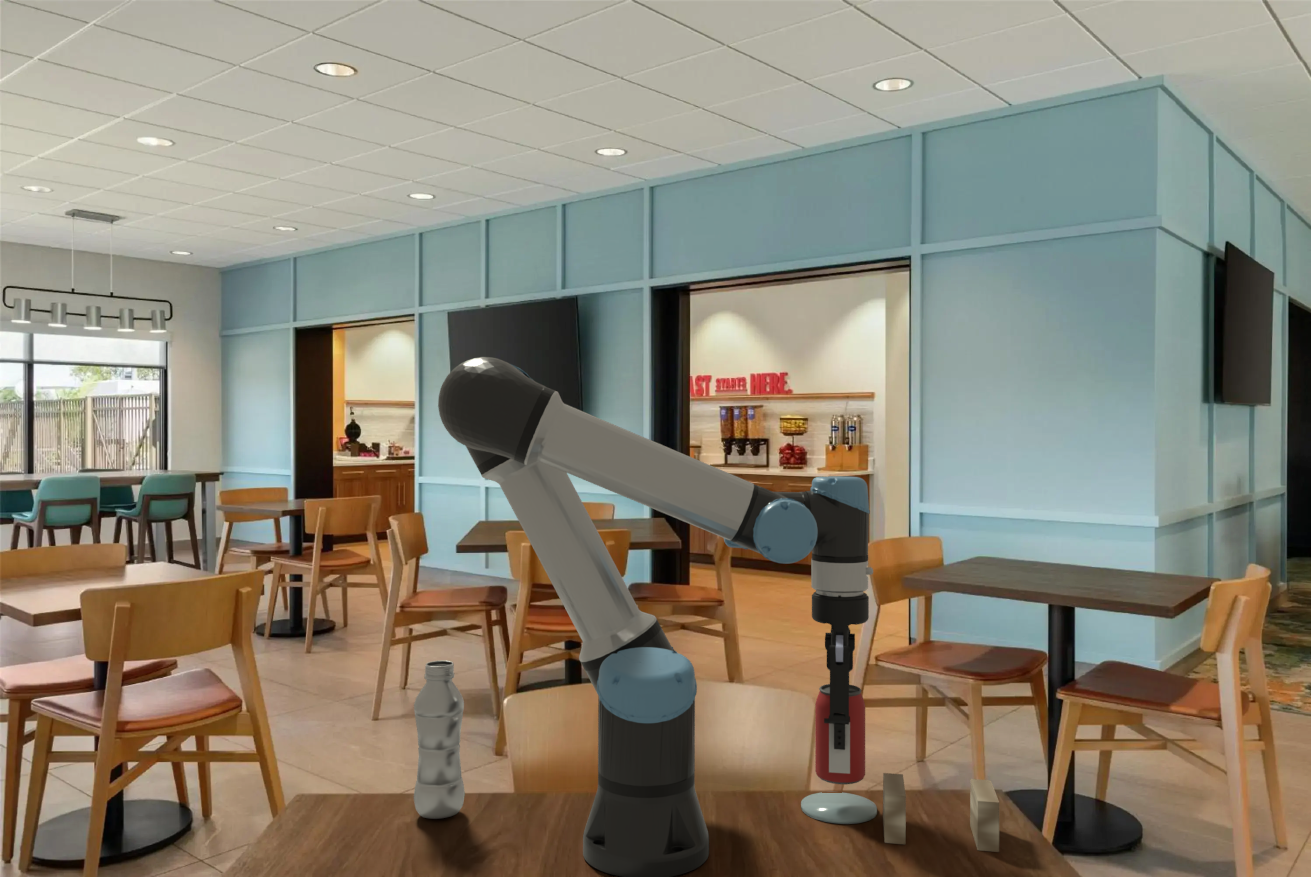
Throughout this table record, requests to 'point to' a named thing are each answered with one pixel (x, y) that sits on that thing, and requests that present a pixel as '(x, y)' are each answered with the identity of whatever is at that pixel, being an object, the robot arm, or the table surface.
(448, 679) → the plastic bottle
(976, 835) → the block
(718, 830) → the table surface
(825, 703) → the beer can
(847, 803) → the coaster
